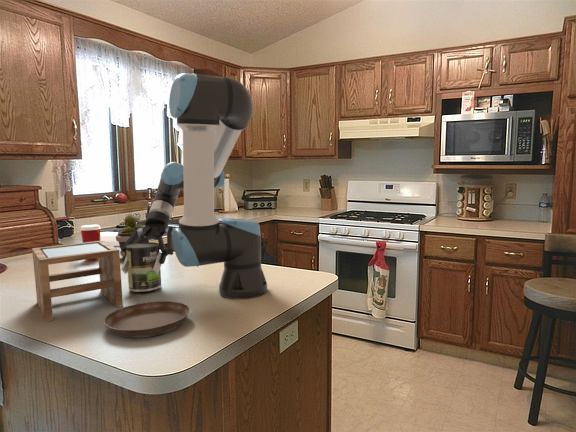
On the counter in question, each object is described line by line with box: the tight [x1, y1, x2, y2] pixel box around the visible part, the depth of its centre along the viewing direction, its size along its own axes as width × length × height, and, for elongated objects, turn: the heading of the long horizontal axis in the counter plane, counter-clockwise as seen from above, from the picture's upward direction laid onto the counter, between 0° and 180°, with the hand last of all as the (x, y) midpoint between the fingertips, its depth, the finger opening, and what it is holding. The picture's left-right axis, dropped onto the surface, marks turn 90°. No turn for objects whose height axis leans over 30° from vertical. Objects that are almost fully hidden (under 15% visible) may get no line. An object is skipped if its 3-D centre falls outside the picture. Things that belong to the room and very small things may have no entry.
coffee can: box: [126, 241, 162, 293], centre depth 135 cm, size 10×10×14 cm
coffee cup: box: [79, 224, 102, 262], centre depth 181 cm, size 8×8×15 cm
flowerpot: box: [116, 212, 150, 259], centre depth 184 cm, size 14×15×20 cm
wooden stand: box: [31, 241, 124, 322], centre depth 122 cm, size 20×20×16 cm
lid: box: [42, 243, 107, 258], centre depth 121 cm, size 15×15×1 cm
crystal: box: [100, 231, 120, 247], centre depth 213 cm, size 7×7×24 cm
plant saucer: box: [103, 300, 190, 339], centre depth 106 cm, size 21×21×3 cm
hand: (139, 271), depth 132 cm, fingers closed on coffee can, 10 cm apart
